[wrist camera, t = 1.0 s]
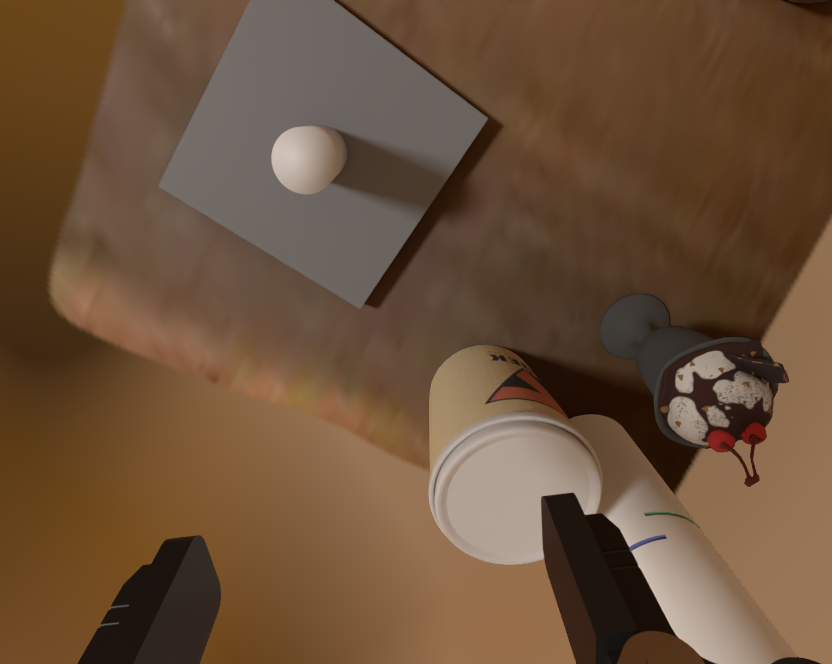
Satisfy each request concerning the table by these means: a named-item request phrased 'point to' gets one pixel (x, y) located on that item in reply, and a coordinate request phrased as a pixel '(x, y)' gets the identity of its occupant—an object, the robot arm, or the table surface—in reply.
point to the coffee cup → (501, 455)
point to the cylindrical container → (678, 556)
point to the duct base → (321, 90)
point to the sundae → (696, 377)
